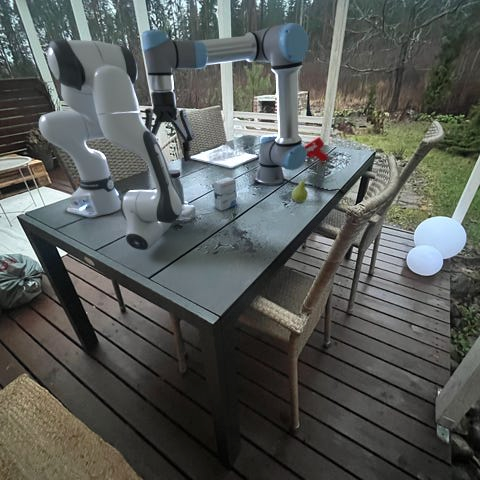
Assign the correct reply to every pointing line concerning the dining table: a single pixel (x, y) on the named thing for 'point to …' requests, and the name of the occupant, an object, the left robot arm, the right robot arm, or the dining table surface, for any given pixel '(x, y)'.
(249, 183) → the dining table surface
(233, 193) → the ink box
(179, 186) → the bottle
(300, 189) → the fruit
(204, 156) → the relief map
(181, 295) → the dining table surface
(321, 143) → the toy gun
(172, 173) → the cap
